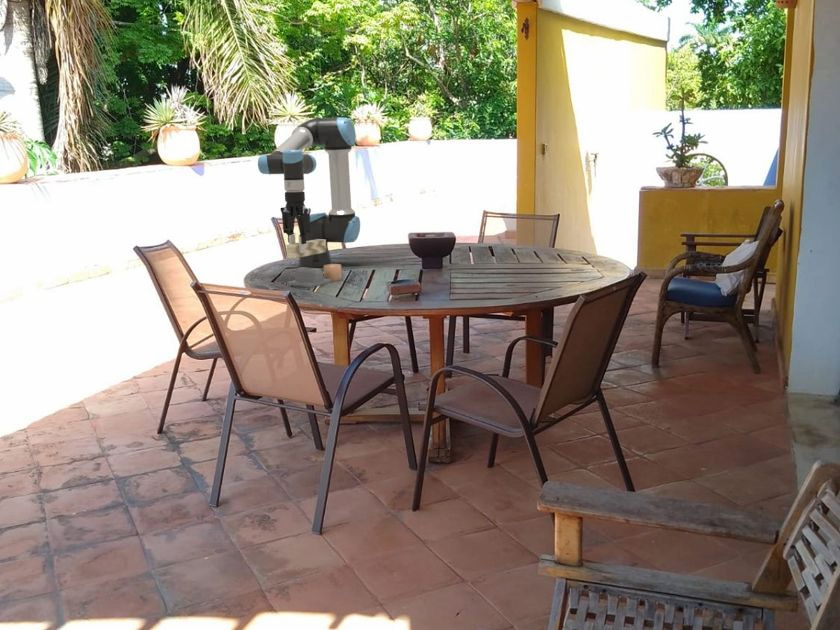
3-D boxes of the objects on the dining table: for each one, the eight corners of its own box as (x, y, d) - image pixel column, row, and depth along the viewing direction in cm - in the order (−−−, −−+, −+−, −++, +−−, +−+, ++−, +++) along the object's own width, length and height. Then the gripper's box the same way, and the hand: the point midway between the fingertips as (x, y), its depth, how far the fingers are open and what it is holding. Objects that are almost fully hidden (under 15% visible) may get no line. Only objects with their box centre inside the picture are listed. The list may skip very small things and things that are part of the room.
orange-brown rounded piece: (331, 277, 333) (331, 263, 331) (345, 279, 329) (344, 264, 328) (320, 280, 327) (320, 265, 326) (334, 282, 323) (333, 267, 322)
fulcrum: (307, 279, 329) (307, 265, 327) (330, 282, 322) (330, 267, 321) (287, 284, 319) (287, 269, 317) (311, 287, 312) (310, 272, 311)
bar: (318, 251, 327) (317, 239, 326) (326, 251, 325) (325, 239, 324) (287, 257, 310) (286, 244, 309) (295, 258, 308) (294, 245, 307)
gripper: (270, 191, 309) (274, 251, 314) (305, 192, 300) (308, 254, 305) (284, 190, 315) (287, 249, 320) (318, 191, 306) (321, 252, 311)
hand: (297, 251), depth 312 cm, fingers closed on bar, 4 cm apart
